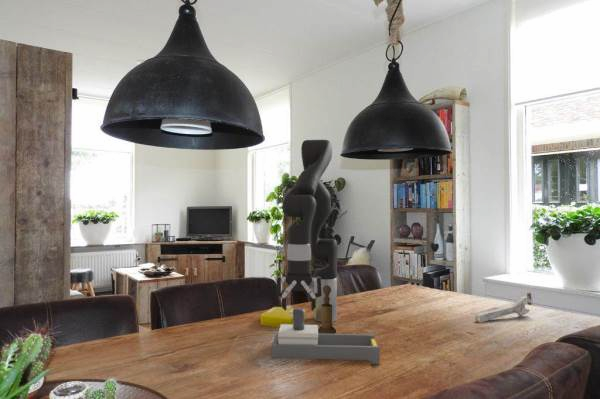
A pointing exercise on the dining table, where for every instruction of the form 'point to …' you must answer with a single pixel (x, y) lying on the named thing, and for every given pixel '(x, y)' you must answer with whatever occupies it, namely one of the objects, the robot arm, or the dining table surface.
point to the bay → (332, 348)
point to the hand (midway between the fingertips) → (298, 310)
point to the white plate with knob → (298, 331)
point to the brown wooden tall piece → (326, 314)
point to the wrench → (506, 310)
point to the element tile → (278, 316)
